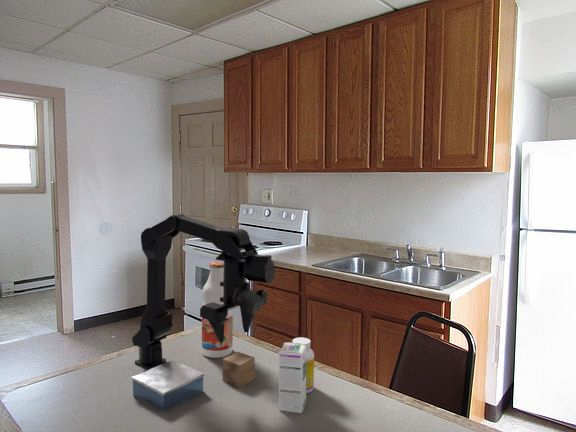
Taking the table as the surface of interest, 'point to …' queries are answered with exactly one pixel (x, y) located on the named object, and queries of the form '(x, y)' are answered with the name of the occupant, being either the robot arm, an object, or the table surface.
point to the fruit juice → (209, 338)
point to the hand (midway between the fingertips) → (233, 337)
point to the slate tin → (167, 385)
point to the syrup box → (292, 377)
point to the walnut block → (238, 369)
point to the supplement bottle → (308, 363)
